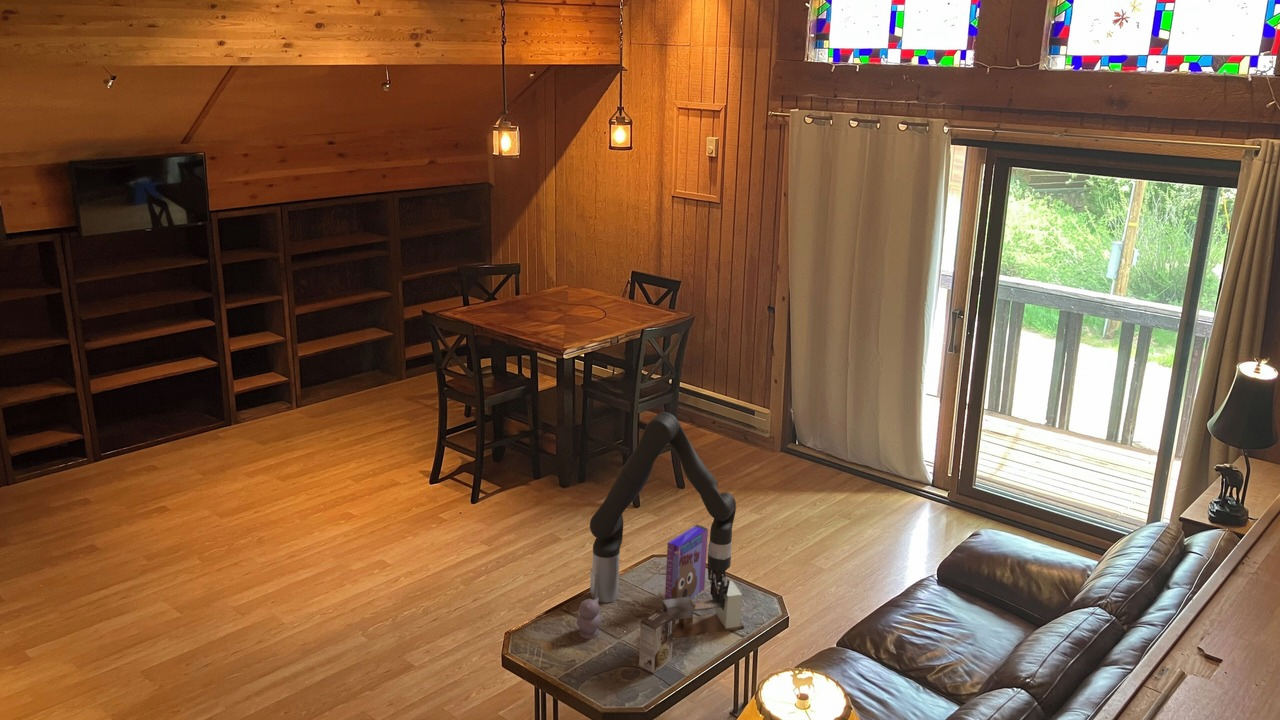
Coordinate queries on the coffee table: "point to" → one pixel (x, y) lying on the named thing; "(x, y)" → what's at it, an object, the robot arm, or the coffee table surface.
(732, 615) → the socket block
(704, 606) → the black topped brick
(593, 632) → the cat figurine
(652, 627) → the coffee box
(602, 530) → the robot arm
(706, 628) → the board
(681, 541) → the cereal box
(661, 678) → the coffee table surface
